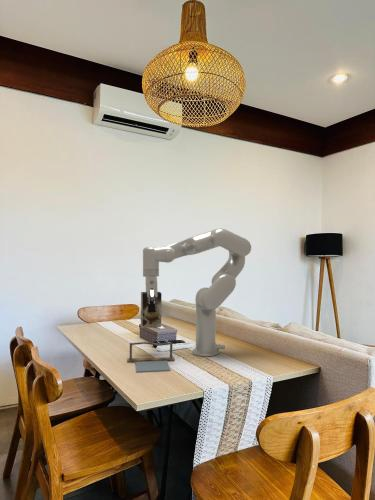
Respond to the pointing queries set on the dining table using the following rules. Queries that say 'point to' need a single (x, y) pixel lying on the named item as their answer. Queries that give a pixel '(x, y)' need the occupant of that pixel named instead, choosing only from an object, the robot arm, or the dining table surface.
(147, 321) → the coffee box
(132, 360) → the wire stand
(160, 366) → the mat
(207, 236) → the robot arm
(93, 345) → the dining table surface
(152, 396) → the dining table surface
